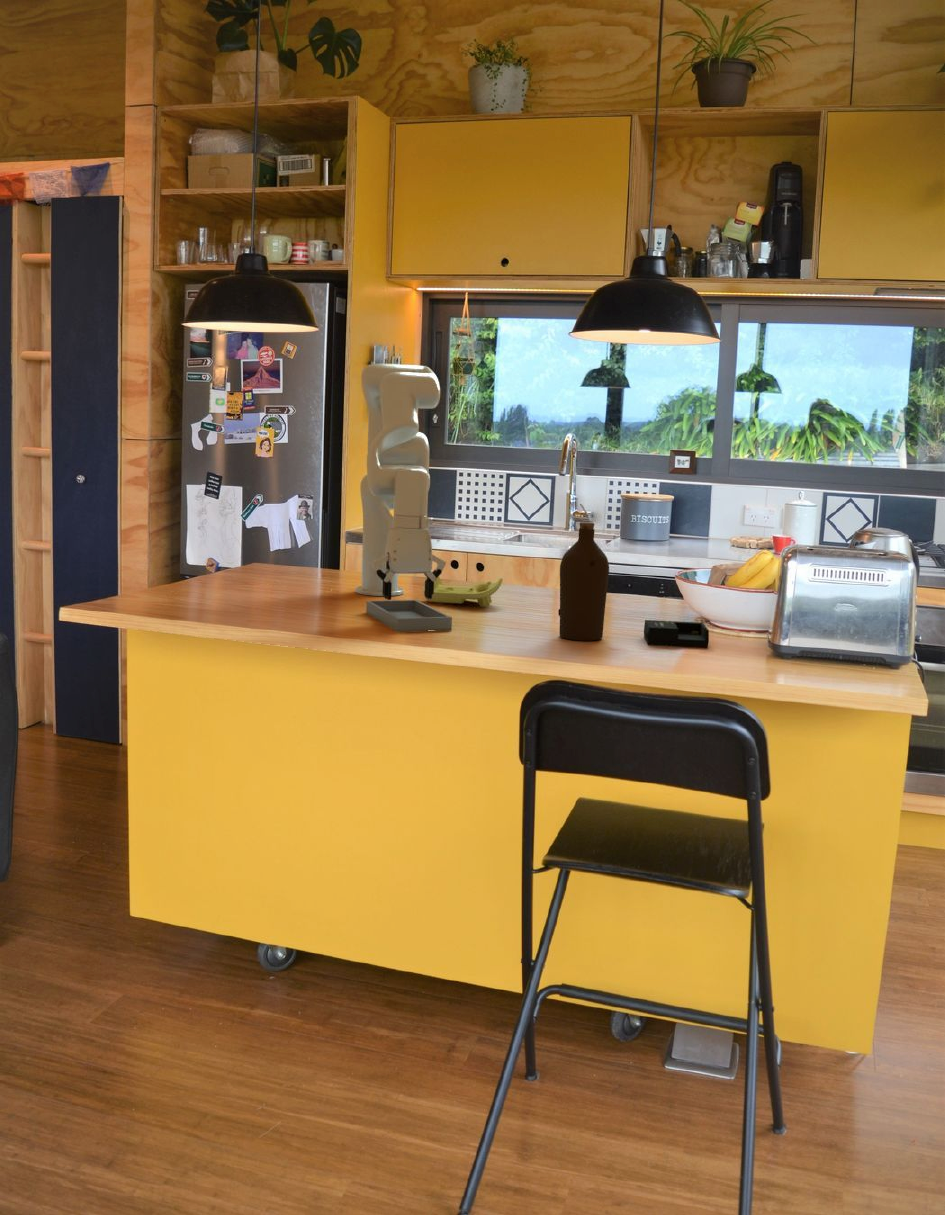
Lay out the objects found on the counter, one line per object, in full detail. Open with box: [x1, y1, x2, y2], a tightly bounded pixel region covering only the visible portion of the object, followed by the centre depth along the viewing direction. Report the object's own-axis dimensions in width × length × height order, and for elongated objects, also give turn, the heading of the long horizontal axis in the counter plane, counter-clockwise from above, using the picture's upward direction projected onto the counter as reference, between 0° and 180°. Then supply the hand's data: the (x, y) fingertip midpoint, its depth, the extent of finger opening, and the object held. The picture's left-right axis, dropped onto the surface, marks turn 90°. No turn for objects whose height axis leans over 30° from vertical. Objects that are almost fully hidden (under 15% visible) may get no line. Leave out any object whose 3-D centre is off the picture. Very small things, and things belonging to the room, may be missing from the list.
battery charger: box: [643, 619, 710, 649], centre depth 247 cm, size 13×10×4 cm
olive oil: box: [557, 521, 610, 642], centre depth 246 cm, size 11×11×25 cm
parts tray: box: [365, 599, 453, 633], centre depth 258 cm, size 24×12×3 cm, turn 21°
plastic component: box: [422, 575, 504, 607], centre depth 286 cm, size 20×7×10 cm
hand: (408, 598), depth 257 cm, fingers open, 9 cm apart
